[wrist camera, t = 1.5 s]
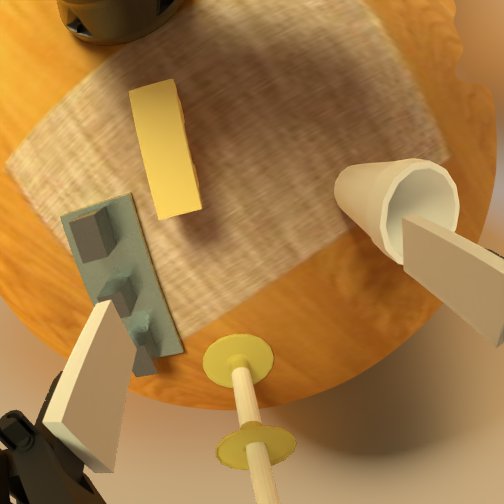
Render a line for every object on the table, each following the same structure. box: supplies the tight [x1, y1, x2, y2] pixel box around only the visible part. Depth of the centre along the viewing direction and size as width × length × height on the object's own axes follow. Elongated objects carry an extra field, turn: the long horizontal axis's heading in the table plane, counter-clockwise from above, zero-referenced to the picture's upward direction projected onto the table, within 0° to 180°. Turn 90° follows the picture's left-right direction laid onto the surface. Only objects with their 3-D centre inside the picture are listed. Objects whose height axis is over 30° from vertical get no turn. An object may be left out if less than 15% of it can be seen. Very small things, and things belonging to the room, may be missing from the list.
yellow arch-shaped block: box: [128, 78, 202, 220], centre depth 28 cm, size 12×4×6 cm, turn 11°
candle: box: [203, 334, 297, 504], centre depth 26 cm, size 10×10×32 cm
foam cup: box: [334, 158, 460, 265], centre depth 29 cm, size 10×9×13 cm
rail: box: [60, 193, 184, 377], centre depth 33 cm, size 21×9×5 cm, turn 11°
